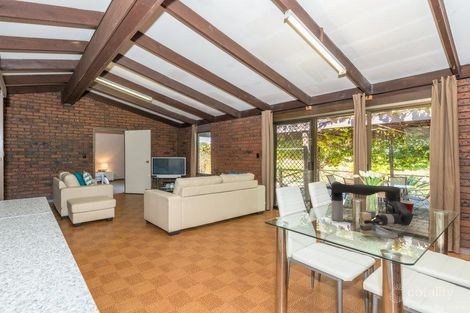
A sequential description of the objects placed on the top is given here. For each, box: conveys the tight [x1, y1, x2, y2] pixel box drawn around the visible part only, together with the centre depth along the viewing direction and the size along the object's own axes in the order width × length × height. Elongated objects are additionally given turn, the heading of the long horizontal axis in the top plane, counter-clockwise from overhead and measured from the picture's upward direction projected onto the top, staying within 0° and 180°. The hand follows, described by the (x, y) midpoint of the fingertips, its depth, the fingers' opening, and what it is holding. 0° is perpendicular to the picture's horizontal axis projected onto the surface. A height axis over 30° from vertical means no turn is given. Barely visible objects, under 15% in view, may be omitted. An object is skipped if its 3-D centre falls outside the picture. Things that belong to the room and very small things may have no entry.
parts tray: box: [357, 224, 399, 240], centre depth 180 cm, size 26×12×3 cm, turn 7°
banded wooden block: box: [359, 211, 373, 235], centre depth 172 cm, size 5×5×14 cm
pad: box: [351, 231, 381, 242], centre depth 172 cm, size 16×11×1 cm
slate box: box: [364, 209, 377, 230], centre depth 187 cm, size 5×5×14 cm
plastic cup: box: [400, 199, 416, 214], centre depth 232 cm, size 11×11×12 cm
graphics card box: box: [384, 192, 401, 216], centre depth 221 cm, size 17×7×27 cm, turn 168°
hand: (362, 221), depth 172 cm, fingers closed on banded wooden block, 5 cm apart
